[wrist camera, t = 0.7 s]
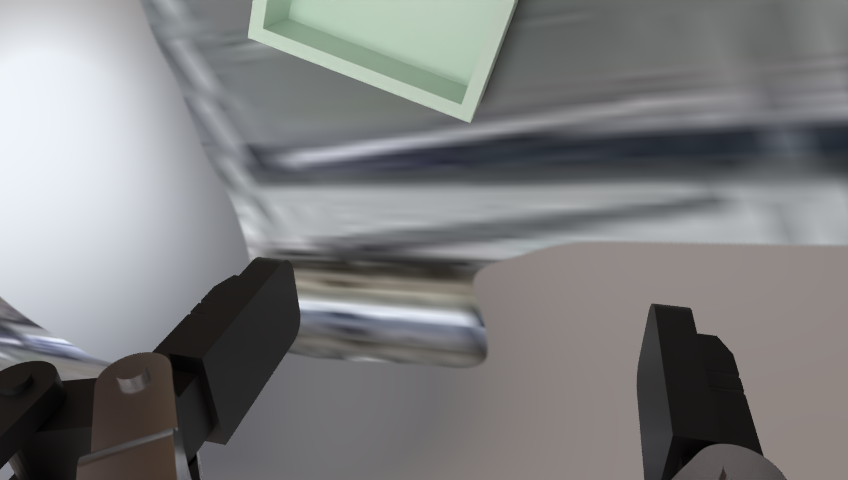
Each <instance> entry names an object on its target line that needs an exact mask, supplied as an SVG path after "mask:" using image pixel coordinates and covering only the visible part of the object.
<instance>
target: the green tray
mask: <svg viewBox="0 0 848 480" xmlns="http://www.w3.org/2000/svg"><path fill="white" fill-rule="evenodd" d="M518 1H519V0H253V4H252V11H251V18H250V26H249V33H248V38H251V39H253V40H256V41H258V42H261V43H264V44H266V45H269V46H271V47H274V48H277V49H279V50H282V51H284V52H287V53H289V54H292V55H295V56H297V57H300V58H302V59H305V60H308V61H310V62H313V63H315V64H318V65H321V66H323V67H326V68H328V69H331V70H334V71H336V72H339V73H341V74H344V75H347V76H349V77H352V78H354V79H357V80H360V81H362V82H365V83H367V84H370V85H373V86H375V87H378V88H380V89H383V90H386V91H388V92H391V93H393V94H396V95H399V96H401V97H404V98H406V99H409V100H412V101H414V102H417V103H419V104H422V105H425V106H427V107H430V108H432V109H435V110H438V111H440V112H443V113H445V114H448V115H451V116H453V117H456V118H458V119H461V120H464V121H466V122H469V123H470V122H471V120H472V118H473V116H474V115H475V113H476V111H477V109H478V107H479V105H480V103H481V100H482V98H483V95H484V92H485V90H486V87H487V84H488V82H489V79H490V76H491V73H492V71H493V68H494V65H495V63H496V60H497V57H498V55H499V52H500V49H501V47H502V44H503V41H504V38H505V36H506V33H507V30H508V28H509V25H510V22H511V20H512V17H513V14H514V12H515V9H516V6H517V3H518Z"/></svg>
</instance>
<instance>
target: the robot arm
mask: <svg viewBox="0 0 848 480" xmlns="http://www.w3.org/2000/svg"><path fill="white" fill-rule="evenodd" d="M299 326H300V309H299V303H298V297H297V290H296V284H295V277H294V271H293V267H292V264H291V263H290V262H289V261H288V260H279V259H271V258H262V257H257V258H255V259H254V260H253V261H252V262H251V263H250V264H249V265H248V266H247V268H246V269H245V270H244V271H243V272H242V273H241V274H240V275H239V276H236V275H233V276H232V277H230V278H228V279H226V280H225V281H223V282H221V283H220V284H218V285H216V286H214V287H213V288H212V290H211V291H210V292H209V293H208V294H207V295H206V296H205V297H204V298H203V299H202V300H201V303H198V304H197V305H196V306H195V307H194V308H193V310H192V311H191V314H190V315H189V314H188V315H187V316H186V317H185V318H184V319H183V320H182V321H181V322H180V323H179V324H178V325H177V327H176V328H175V329H174V330H173V331H172V332H171V333H170V334H169V335H168V336H167V337H166V338H165V339H164V340H163V341H162V342H161V343H160V344H159V346H158V347H157V348H156V349H155V350H154V351H153V352H144V353H137V354H133V355H129V356H126V357H124V358H122V359H119V360H117V361H116V362H114V363H112V364H111V365H109V366H108V367H107V368H106V369H104V370H103V371H102V372H101V374H100V375H99V376H98V378H91V379H80V380H69V381H61V379H60V376H59V374H58V372H57V369H56V368H55V366H54V365H52V364H51V363H48V362H44V361H29V362H24V363H20V364H16V365H14V366H11V367H8V368H6V369H4V370H2V371H0V469H1V468H2V467H3V466H4V465H5V464H6V463H7V462H9V463H10V465H11V467H12V469H13V470H14V475H13V476H12V477H11V478H10V479H9V480H203V476H202V469H201V462H200V457H199V454H198V450H199V449H200V447H201V446H202V444H203V443H204V441H209V442H214V443H219V444H224V445H226V443H227V442H228V441H229V439H230V438H231V436H232V435H233V433H234V432H235V430H236V429H237V427H238V425H239V424H240V422H241V421H242V419H243V418H244V416H245V415H246V413H247V412H248V410H249V409H250V407H251V406H252V404H253V403H254V401H255V400H256V398H257V397H258V395H259V393H260V392H261V390H262V389H263V387H264V386H265V384H266V383H267V381H268V380H269V378H270V377H271V375H272V374H273V372H274V371H275V369H276V368H277V366H278V365H279V363H280V362H281V360H282V359H283V357H284V356H285V354H286V353H287V351H288V350H289V348H290V347H291V345H292V343H293V342H294V340H295V339H296V336H297V334H298V331H299ZM637 398H638V410H639V421H640V433H641V445H642V456H643V468H644V480H787V479H786V478H785V477H784V475H783V474H782V472H781V471H780V470H779V469H778V468H777V467H776V466H775V465H774V464H773V463H771V462H770V461H769V460H768V459H766V458H765V457H764V456H763V453H762V450H761V446H760V443H759V439H758V436H757V433H756V429H755V426H754V423H753V419H752V416H751V413H750V409H749V406H748V403H747V399H746V396H745V395H744V389H743V386H742V383H741V379H740V378H739V372H738V369H737V366H736V362H735V359H734V356H733V354H732V353H731V352H730V351H729V349H728V348H727V347H726V346H725V345H724V344H723V343H722V341H721V340H720V339H719V338H718V337H717V336H713V335H704V334H697V331H696V327H695V322H694V318H693V314H692V310H691V309H690V308H687V307H678V306H670V305H669V306H668V305H661V304H651V306H650V309H649V313H648V318H647V323H646V328H645V333H644V338H643V343H642V348H641V352H640V357H639V363H638V371H637Z"/></svg>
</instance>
